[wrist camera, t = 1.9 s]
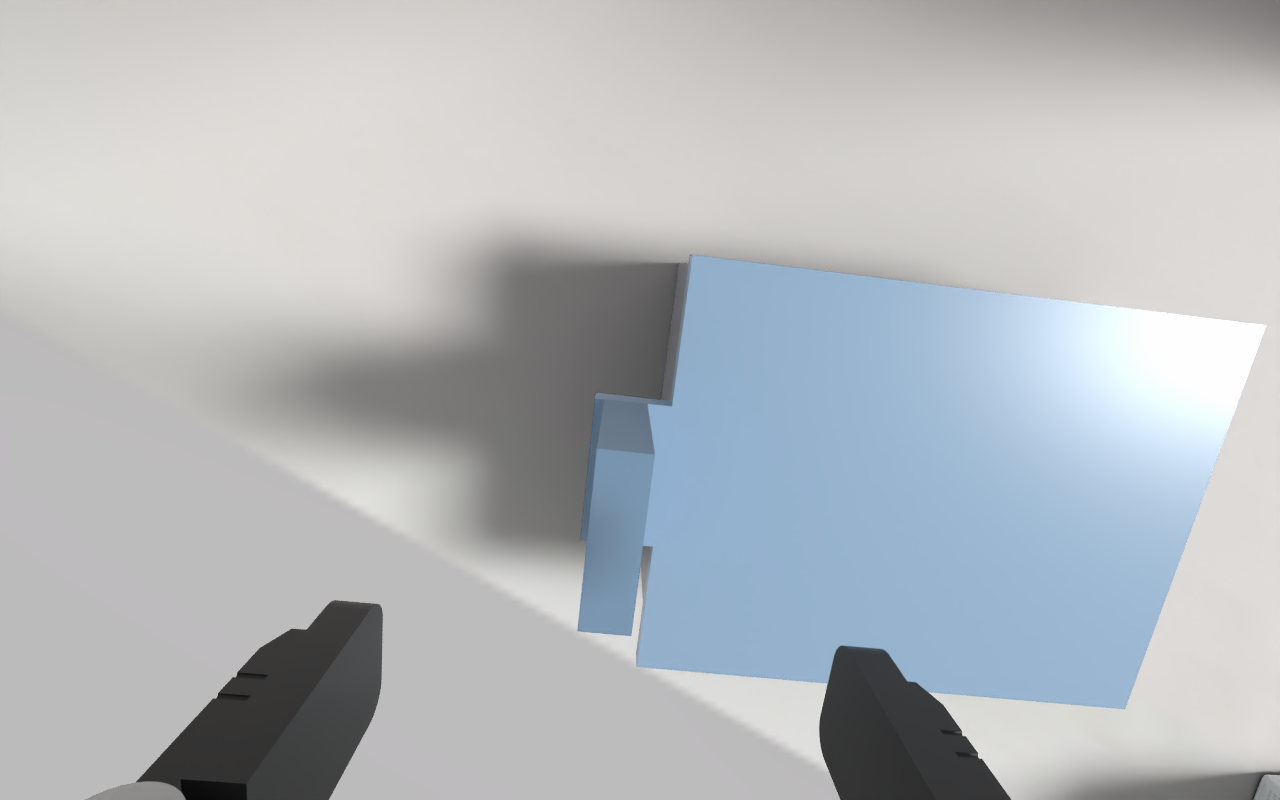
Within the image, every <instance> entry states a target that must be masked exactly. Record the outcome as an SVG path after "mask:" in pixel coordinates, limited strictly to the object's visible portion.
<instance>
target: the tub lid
mask: <svg viewBox="0 0 1280 800" xmlns="http://www.w3.org/2000/svg"><path fill="white" fill-rule="evenodd" d="M1265 327H1266V325H1259V324H1251V323H1243V322H1235V321H1227V320H1218V319H1210V318H1202V317H1194V316H1186V315H1178V314H1170V313H1162V312H1153V311H1145V310H1137V309H1129V308H1121V307H1113V306H1105V305H1097V304H1088V303H1080V302H1072V301H1064V300H1056V299H1048V298H1040V297H1032V296H1023V295H1015V294H1007V293H999V292H991V291H983V290H975V289H967V288H958V287H950V286H942V285H934V284H926V283H918V282H910V281H902V280H894V279H885V278H877V277H869V276H861V275H853V274H845V273H837V272H829V271H820V270H812V269H804V268H796V267H788V266H780V265H772V264H764V263H755V262H747V261H739V260H731V259H723V258H715V257H707V256H699V255H690V258H689V265H688V273H687V280H686V288H685V295H684V302H683V310H682V317H681V325H680V332H679V339H678V347H677V354H676V362H675V369H674V377H673V384H672V391H671V399H670V401H669V400H660V399H651V398H642V397H633V396H624V395H614V394H605V393H596V396H595V403H594V413H593V423H592V432H591V442H590V452H589V461H588V471H587V481H586V490H585V500H584V510H583V519H582V529H581V538H580V540H587V546H586V556H585V565H584V575H583V584H582V593H581V603H580V612H579V621H578V631H580V632H591V633H602V634H614V635H625V636H631V634H632V626H633V618H634V611H635V603H636V596H637V588H638V580H639V573H640V565H641V557H642V550H643V546H651V547H650V555H649V562H648V570H647V577H646V584H645V592H644V599H643V607H642V614H641V621H640V629H639V636H638V644H637V651H636V659H637V667H644V668H656V669H667V670H679V671H690V672H702V673H713V674H725V675H737V676H748V677H760V678H771V679H783V680H794V681H806V682H817V683H828V681H829V676H830V672H831V667H832V663H833V658H834V655H835V652H836V650H837V648H838V647H839V646H841V645H842V646H854V647H866V648H878V649H884V650H885V651H886V652H887V653H888V654H889V655H890V657H891V658H892V660H893V661H894V663H895V664H896V665H897V667H898V668H899V670H900V671H901V673H902V674H903V676H904V677H905V679H906V680H907V681H908V682H916V683H917V684H919V685H920V686H921V687H922V688H923V689H925V690H926V691H927V692H933V693H944V694H956V695H967V696H979V697H990V698H1002V699H1013V700H1025V701H1036V702H1048V703H1059V704H1071V705H1082V706H1094V707H1106V708H1117V709H1125V707H1126V705H1127V702H1128V699H1129V696H1130V694H1131V691H1132V688H1133V686H1134V683H1135V680H1136V677H1137V675H1138V672H1139V669H1140V667H1141V664H1142V661H1143V658H1144V656H1145V653H1146V650H1147V648H1148V645H1149V642H1150V639H1151V637H1152V634H1153V631H1154V629H1155V626H1156V623H1157V620H1158V618H1159V615H1160V612H1161V610H1162V607H1163V604H1164V601H1165V599H1166V596H1167V593H1168V591H1169V588H1170V585H1171V582H1172V580H1173V577H1174V574H1175V572H1176V569H1177V566H1178V563H1179V561H1180V558H1181V555H1182V553H1183V550H1184V547H1185V544H1186V542H1187V539H1188V536H1189V534H1190V531H1191V528H1192V525H1193V523H1194V520H1195V517H1196V515H1197V512H1198V509H1199V507H1200V504H1201V501H1202V498H1203V496H1204V493H1205V490H1206V488H1207V485H1208V482H1209V479H1210V477H1211V474H1212V471H1213V469H1214V466H1215V463H1216V460H1217V458H1218V455H1219V452H1220V450H1221V447H1222V444H1223V441H1224V439H1225V436H1226V433H1227V431H1228V428H1229V425H1230V422H1231V420H1232V417H1233V414H1234V412H1235V409H1236V406H1237V403H1238V401H1239V398H1240V395H1241V393H1242V390H1243V387H1244V384H1245V382H1246V379H1247V376H1248V374H1249V371H1250V368H1251V365H1252V363H1253V360H1254V357H1255V355H1256V352H1257V349H1258V346H1259V344H1260V341H1261V338H1262V336H1263V333H1264V330H1265Z"/></svg>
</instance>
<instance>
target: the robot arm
mask: <svg viewBox="0 0 1280 800" xmlns="http://www.w3.org/2000/svg"><path fill="white" fill-rule="evenodd" d="M382 617H383V615H382V608H381V606H380V605H379V604H371V603H359V602H348V601H336V600H334V601H332V602H330V603H329V604H328V605H327V606H326V608H325V609H324V610H323V611H322V612H321V614H320V615H319V616H318V617H317V618H316V619H315V620H314V622H313V623H312V624H311V625H310V627H309V628H308V629H307V630H301V629H291V630H289V631H287V632H286V633H284V634H282V635H281V636H279V637H277V638H276V639H274V640H272V641H271V642H269V643H268V644H266V645H264V646H263V647H261V648H260V649H259V650H258V651H257V652H256V653H255V654H254V655H253V656H252V657H251V658H250V659H249V661H248V662H247V663H246V664H245V665H244V666H243V667H242V668H241V669H240V670H239V671H238V673H237V676H236V678H234V677H233V678H232V679H231V680H230V681H229V682H228V683H227V684H226V685H225V687H223V689H222V690H221V691H220V692H219V693H218V697H217V698H216V699H212V700H211V702H210V703H209V704H208V705H207V706H206V707H205V708H204V709H203V710H202V711H201V712H200V713H199V715H198V716H197V717H196V718H195V719H194V720H193V721H192V722H191V723H190V724H189V725H188V726H187V727H186V729H185V730H184V731H183V732H182V733H181V734H180V735H179V736H178V737H177V738H176V739H175V741H174V742H173V743H172V744H171V745H170V746H169V747H168V748H167V749H166V750H165V751H164V752H163V753H162V754H161V756H160V757H159V758H158V759H157V760H156V761H155V762H154V763H153V764H152V765H151V766H150V767H149V769H148V770H147V771H146V772H145V773H144V774H143V775H142V776H141V777H140V778H139V779H138V780H137V781H136V783H131V784H126V785H121V786H118V787H115V788H112V789H108V790H106V791H103V792H101V793H99V794H96V795H94V796H92V797H90V798H88V799H86V800H329V798H330V796H331V794H332V793H333V791H334V789H335V787H336V785H337V783H338V781H339V780H340V778H341V776H342V774H343V772H344V770H345V769H346V767H347V765H348V763H349V761H350V759H351V758H352V756H353V754H354V752H355V750H356V748H357V746H358V744H359V743H360V741H361V739H362V737H363V735H364V733H365V732H366V730H367V728H368V726H369V724H370V722H371V720H372V718H373V715H374V712H375V709H376V706H377V703H378V699H379V694H380V689H381V672H382V671H381V670H382V623H383V622H382V621H383V618H382ZM819 733H820V744H821V749H822V754H823V757H824V760H825V762H826V765H827V767H828V770H829V772H830V775H831V777H832V780H833V782H834V785H835V787H836V790H837V792H838V794H839V797H840V799H841V800H1011V799H1010V797H1009V796H1008V795H1007V793H1006V792H1005V790H1004V789H1003V788H1002V786H1001V785H1000V783H999V782H998V781H997V779H996V778H995V776H994V775H993V774H992V772H991V771H990V770H989V768H988V767H987V765H986V764H985V763H984V761H983V760H982V759H979V758H978V753H977V751H976V750H975V749H974V747H973V746H972V744H971V743H970V742H969V740H968V739H967V738H966V736H962V731H961V729H960V728H959V726H958V725H957V724H956V722H955V721H954V719H953V718H952V717H951V715H950V714H949V712H948V711H947V710H946V708H945V707H944V706H943V705H942V704H941V703H940V702H939V701H938V700H937V699H935V698H934V697H933V696H932V695H931V694H929V693H928V692H927V691H926V690H925V689H923V688H922V687H921V686H920V685H919V684H917V683H916V682H908V681H907V680H906V679H905V677H904V676H903V674H902V673H901V671H900V670H899V668H898V667H897V665H896V664H895V663H894V661H893V660H892V658H891V657H890V655H889V654H888V653H887V652H886V651H885V650H884V649H878V648H866V647H854V646H842V645H841V646H839V647H838V648H837V650H836V652H835V655H834V658H833V663H832V667H831V672H830V676H829V681H828V685H827V690H826V694H825V698H824V703H823V707H822V712H821V717H820V726H819Z"/></svg>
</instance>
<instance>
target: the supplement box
mask: <svg viewBox="0 0 1280 800" xmlns="http://www.w3.org/2000/svg"><path fill="white" fill-rule="evenodd" d="M1254 800H1280V775H1264V776H1263V777H1262V779H1261V782H1260V784H1259V787H1258V789H1257V792H1256V794H1255V797H1254Z"/></svg>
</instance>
